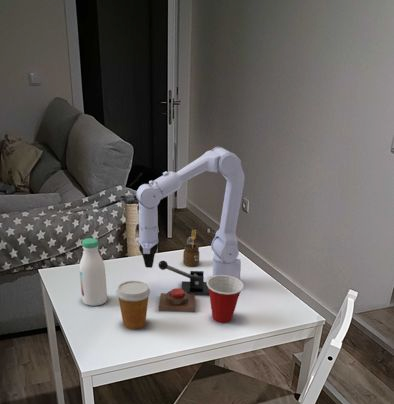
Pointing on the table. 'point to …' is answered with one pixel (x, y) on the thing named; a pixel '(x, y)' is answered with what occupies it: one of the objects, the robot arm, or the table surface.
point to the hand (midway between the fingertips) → (149, 266)
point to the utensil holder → (191, 253)
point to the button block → (177, 303)
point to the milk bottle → (92, 274)
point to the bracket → (196, 284)
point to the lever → (174, 269)
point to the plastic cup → (223, 296)
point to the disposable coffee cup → (133, 303)
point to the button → (177, 293)
